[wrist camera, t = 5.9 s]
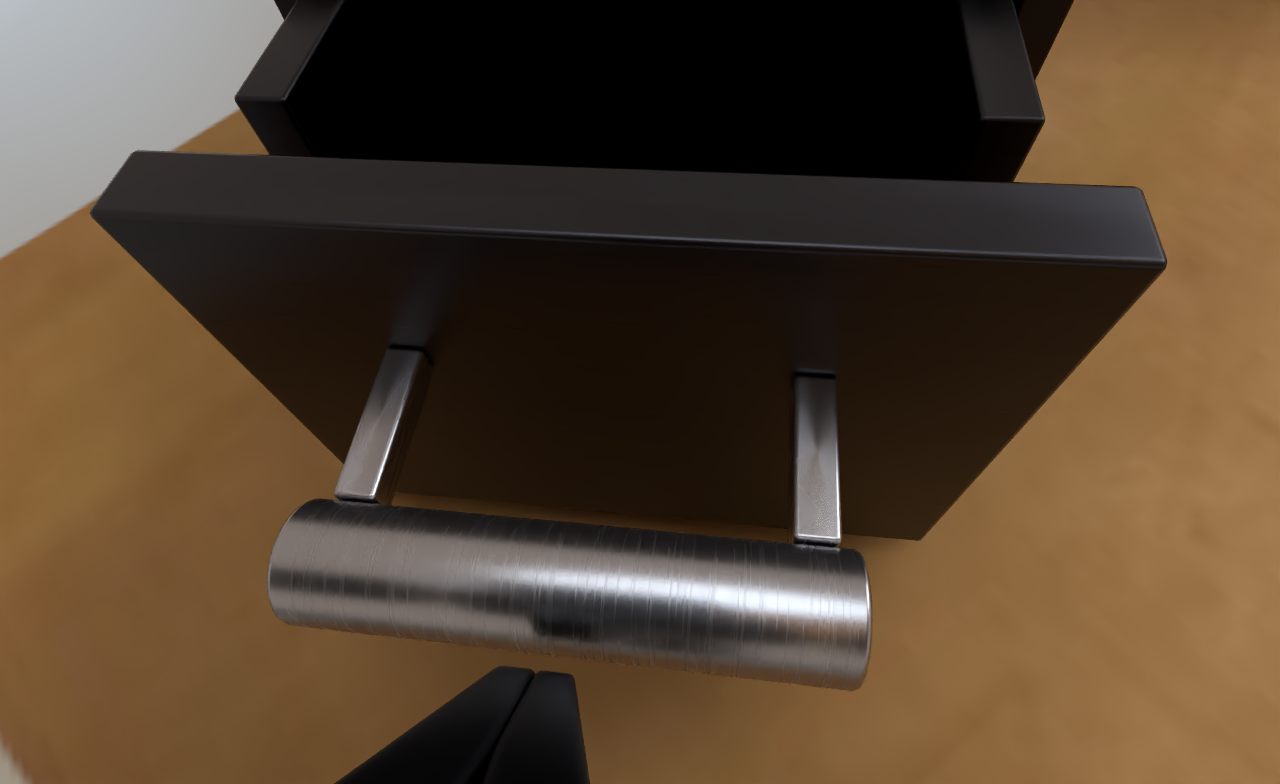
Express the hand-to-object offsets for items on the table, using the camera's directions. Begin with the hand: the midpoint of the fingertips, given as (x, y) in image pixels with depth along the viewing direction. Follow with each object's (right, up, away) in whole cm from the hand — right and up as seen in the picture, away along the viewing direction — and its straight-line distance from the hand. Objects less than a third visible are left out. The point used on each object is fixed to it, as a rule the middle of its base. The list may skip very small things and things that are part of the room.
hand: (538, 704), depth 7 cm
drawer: (+2, +5, +10) cm, 12 cm away
